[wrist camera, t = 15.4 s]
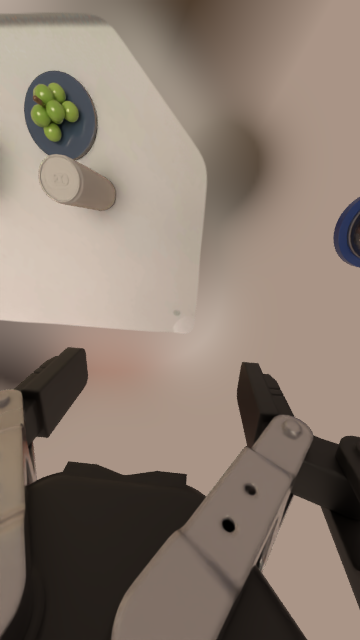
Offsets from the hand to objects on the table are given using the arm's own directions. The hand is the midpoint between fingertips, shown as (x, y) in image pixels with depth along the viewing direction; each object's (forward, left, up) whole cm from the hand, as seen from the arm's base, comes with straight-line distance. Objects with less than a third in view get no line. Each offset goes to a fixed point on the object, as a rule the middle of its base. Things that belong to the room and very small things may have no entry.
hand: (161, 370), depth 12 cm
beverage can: (+14, -11, -30) cm, 35 cm away
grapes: (+19, -20, -30) cm, 41 cm away
